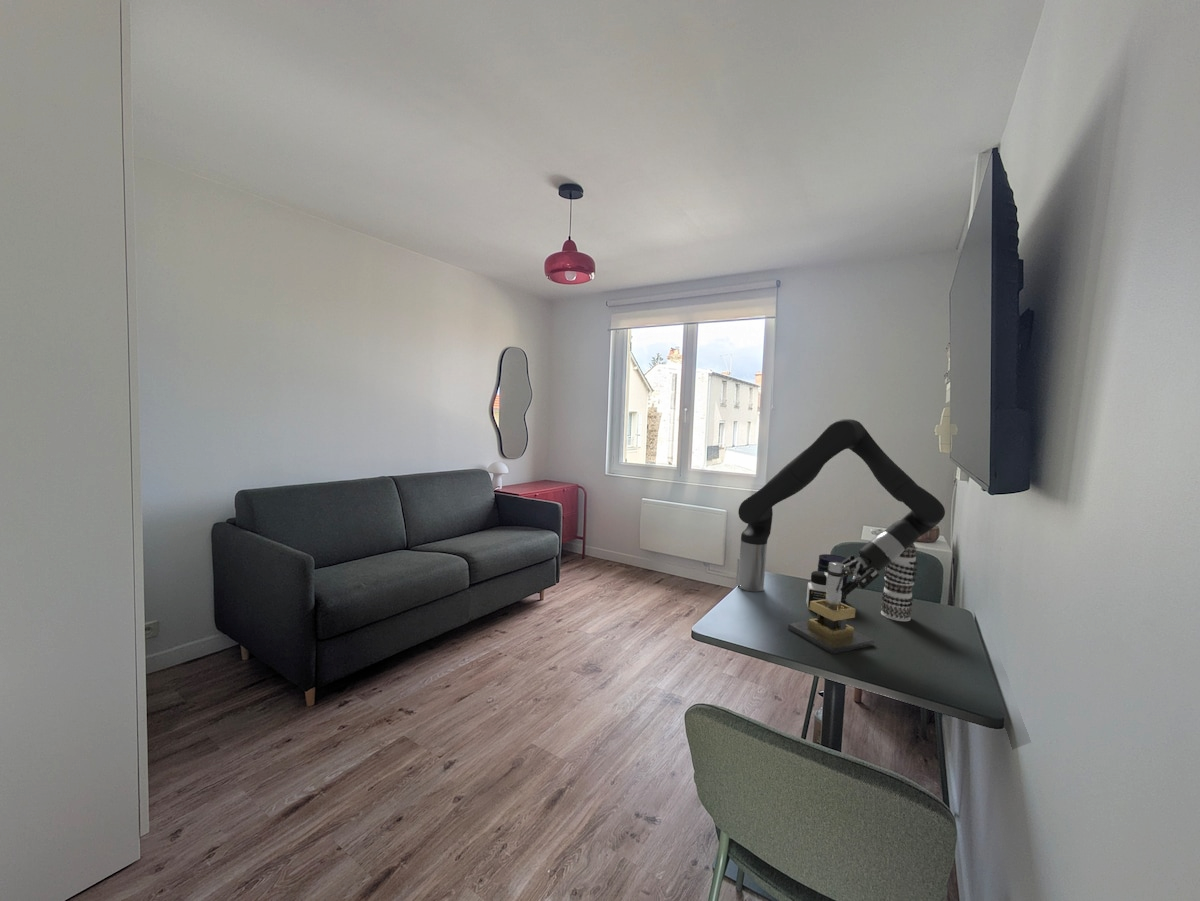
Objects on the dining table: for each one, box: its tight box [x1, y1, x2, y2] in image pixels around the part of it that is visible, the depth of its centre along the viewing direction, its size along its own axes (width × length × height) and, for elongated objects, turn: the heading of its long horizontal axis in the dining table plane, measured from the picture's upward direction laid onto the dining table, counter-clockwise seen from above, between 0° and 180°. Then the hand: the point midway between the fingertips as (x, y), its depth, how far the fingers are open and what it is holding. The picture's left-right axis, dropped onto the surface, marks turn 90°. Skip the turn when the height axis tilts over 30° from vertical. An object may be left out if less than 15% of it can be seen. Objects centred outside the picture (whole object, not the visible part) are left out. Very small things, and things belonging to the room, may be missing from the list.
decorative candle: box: [880, 542, 919, 622], centre depth 160 cm, size 9×9×25 cm
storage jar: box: [817, 553, 849, 605], centre depth 172 cm, size 10×10×15 cm
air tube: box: [823, 562, 844, 629], centre depth 142 cm, size 4×4×20 cm
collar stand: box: [787, 599, 875, 655], centre depth 142 cm, size 16×16×10 cm
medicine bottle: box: [806, 570, 828, 611], centre depth 165 cm, size 7×7×12 cm
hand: (836, 587), depth 142 cm, fingers open, 8 cm apart
